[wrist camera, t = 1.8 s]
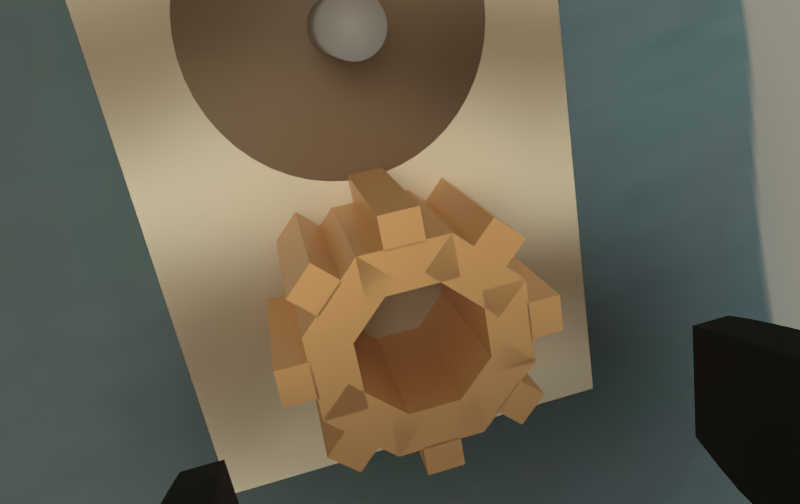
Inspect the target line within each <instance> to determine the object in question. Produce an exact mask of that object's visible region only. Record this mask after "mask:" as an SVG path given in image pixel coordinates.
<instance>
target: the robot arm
mask: <svg viewBox="0 0 800 504" xmlns="http://www.w3.org/2000/svg"><path fill="white" fill-rule="evenodd" d="M693 354H694V391H695V427H696V437H697V439H698V440H699V441H700V443H701V444H702V445H703V446H704V448H705V449H706V450H707V452H708V453H709V454H710V455H711V457H712V458H713V459H714V461H715V462H716V463H717V464H718V466H719V467H720V468H721V469H722V471H723V472H724V473H725V474H726V475H727V477H728V478H729V479H730V480H731V481H732V483H733V484H734V485H735V486H736V487H737V488H738V490H739V491H740V492H741V493H742V494H743V495H744V496H745V497H746V498H747V499H748V500H749V501H750V502H751V503H752V504H800V330H797V329H793V328H789V327H785V326H780V325H776V324H771V323H767V322H762V321H757V320H752V319H747V318H740V317H734V316H725V317H722V318H718V319H715V320H711V321H708V322H704V323H701V324H697V325H694V326H693ZM161 504H239V503H238V500H237V497H236V494H235V490H234V487H233V484H232V481H231V478H230V475H229V472H228V469H227V466H226V463H225V460H221V461H217V462H214V463H210V464H207V465H203V466H200V467H196V468H193V469H189V470H186V471H182V472H180V473H179V474H178V476H177V478H176V479H175V481H174V482H173V484H172V486H171V487H170V489H169V491H168V492H167V494H166V496H165V497H164V499H163V501H162V503H161Z"/></svg>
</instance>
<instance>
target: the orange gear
mask: <svg viewBox="0 0 800 504" xmlns="http://www.w3.org/2000/svg"><path fill="white" fill-rule="evenodd" d="M348 180H349V184H350V189H351V194H352V199H353V203H350V204H346V205H341V206H337V207H333V208H331V209H330V211H329V212H328V214H327V216H326V217H325V219H324V220H323V222H322V223H321V225H320V226H318V225H316V224H314V223H313V222H311V221H309V220H308V219H306V218H304V217H302V216H301V215H299V214H297V213H296V212H295V213H294V214H293V216H292V217H291V219H290V221H289V222H288V224H287V225H286V227H285V228H284V230H283V232H282V233H281V235H280V236H279V238H278V239H277V241H276V243H277V249H278V256H279V262H280V268H281V274H282V280H283V286H284V292H285V296H281V297H277V298H273V299H269V300H267V311H268V321H269V332H270V343H271V353H272V364H273V373H274V376H275V380H276V383H277V387H278V390H279V394H280V398H281V401H282V405H283V408H287V407H290V406H294V405H297V404H301V403H305V402H308V401H312V400H315V399H316V404H317V409H318V414H319V419H320V424H321V429H322V434H323V439H324V443H325V448H326V453H327V458H330V459H332V460H334V461H336V462H339V463H341V464H343V465H345V466H348V467H350V468H352V469H354V470H357V471H359V472H362V470H363V469H364V467H365V466H366V464H367V463H368V462H369V460H370V459H371V457H372V456H373V455H374V453H375V452H376V450H377V449H378V447H379V448H381V449H384V450H386V451H388V452H390V453H392V454H394V455H396V456H399V457H400V456H404V455H407V454H410V453H414V452H417V451H419V453H420V456H421V458H422V461H423V463H424V465H425V468H426V470H427V473H428V475H432V474H435V473H438V472H442V471H445V470H448V469H452V468H455V467H458V466H461V465H465V460H464V454H463V448H462V442H461V438H465V437H468V436H471V435H475V434H478V433H481V432H485V430H486V429H487V427H488V426H489V425H490V423H491V422H492V421H493V419H494V418H495V416H496V415H497V414H498V412H499V413H501V414H503V415H505V416H507V417H509V418H511V419H513V420H514V421H516V422H518V423H520V424H523V423H524V421H525V420H526V419H527V417H528V416H529V415H530V413H531V412H532V411H533V409H534V408H535V407H536V405H537V404H538V402H539V401H540V400H541V398H542V397H543V396H544V393H543V392H542V390H541V389H540V388H539V387H538V386H537V384H536V383H535V382H534V381H533V379H532V378H531V377H530V376H529V375H528V371H529V370H530V369H531V367H532V366H533V365H534V363H535V362H536V357H535V349H534V341H533V339H535V338H539V337H542V336H546V335H549V334H553V333H557V332H560V331H564V330H563V321H562V311H561V301H560V295H559V294H558V293H557V292H556V291H555V290H554V289H552V288H551V287H550V286H549V285H548V284H546V283H545V282H544V281H543V280H542V279H541V278H539V277H538V276H537V275H536V274H535V273H533V272H532V271H531V270H530V269H529V268H527V267H526V266H525V265H524V264H523V263H522V262H520V261H519V260H518V259H517V258H516V257H514V255H515V254H516V252H517V251H518V249H519V248H520V247H521V245H522V244H523V242H524V241H525V239H526V238H525V237H523V236H522V235H521V234H519V233H518V232H517V231H515V230H514V229H513V228H511V227H510V226H509V225H507V224H506V223H505V222H503V221H502V220H501V219H499V218H498V217H497V216H495V215H494V214H493V213H491V212H490V211H489V210H487V209H486V208H484V207H483V206H482V205H480V204H479V203H478V202H476V201H475V200H474V199H472V198H471V197H470V196H468V195H467V194H465V193H464V192H462V191H461V190H459V189H458V188H456V187H455V186H453V185H452V184H450V183H449V182H447V181H446V180H444V179H443V178H441V179H440V181H439V182H438V184H437V185H436V187H435V188H434V190H433V191H432V193H431V194H430V196H429V197H428V199H427V200H426V201H425V200H424V199H422V198H421V197H419V196H418V195H416V194H414V193H413V192H411V191H410V190H404V189H403V188H402V187H401V186H400V185H399V184H398V183H397V182H396V181H395V180H394V179H393V178H392V177H391V176H390V175H389V174H388V173H387V172H386V171H385V170H384V169H383V168H377V169H373V170H368V171H364V172H360V173H355V174H351V175H348ZM440 282H441V285H442V291H443V292H442V294H441V295H440V297H439V298H438V300H437V301H436V302H435V304H434V305H433V307H432V308H431V310H430V311H429V313H428V314H427V315H426V317H425V318H424V320H423V321H422V323H421V324H420V325H419V327H417V328H414V329H410V330H406V331H402V332H399V333H395V334H391V335H387V336H384V337H380V338H375V337H373V336H371V335H369V334H367V333H365V332H363V331H362V330H363V329H364V327H365V326H366V324H367V323H368V321H369V320H370V318H371V317H372V315H373V314H374V313H375V311H376V310H377V308H378V307H379V305H380V304H381V302H382V301H383V299H384V298H385V297H386V296H390V295H394V294H398V293H402V292H406V291H409V290H413V289H417V288H421V287H425V286H429V285H433V284H436V283H440Z"/></svg>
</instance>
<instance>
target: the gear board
mask: <svg viewBox="0 0 800 504" xmlns="http://www.w3.org/2000/svg"><path fill="white" fill-rule="evenodd" d="M66 3H67V6H68V9H69V12H70V15H71V18H72V21H73V24H74V27H75V30H76V33H77V36H78V39H79V42H80V45H81V48H82V51H83V54H84V57H85V60H86V63H87V66H88V69H89V72H90V75H91V78H92V81H93V84H94V87H95V90H96V93H97V96H98V99H99V102H100V105H101V108H102V111H103V114H104V117H105V120H106V123H107V126H108V129H109V132H110V135H111V138H112V141H113V144H114V147H115V150H116V153H117V156H118V159H119V162H120V165H121V169H122V172H123V175H124V178H125V181H126V184H127V187H128V190H129V193H130V196H131V199H132V202H133V205H134V208H135V211H136V214H137V217H138V220H139V223H140V226H141V229H142V232H143V235H144V238H145V241H146V244H147V247H148V250H149V253H150V256H151V259H152V262H153V265H154V268H155V271H156V274H157V277H158V280H159V283H160V286H161V289H162V292H163V295H164V298H165V301H166V304H167V307H168V310H169V313H170V316H171V319H172V322H173V325H174V328H175V331H176V334H177V337H178V340H179V343H180V346H181V349H182V352H183V355H184V358H185V361H186V364H187V367H188V370H189V373H190V376H191V379H192V382H193V385H194V388H195V391H196V394H197V397H198V400H199V403H200V406H201V409H202V412H203V415H204V418H205V421H206V424H207V427H208V430H209V433H210V436H211V439H212V442H213V445H214V448H215V451H216V454H217V457H218V460H219V461H221V460H225V463H226V466H227V469H228V472H229V475H230V478H231V481H232V484H233V487H234V490H235V493H238V492H241V491H245V490H248V489H252V488H255V487H258V486H262V485H265V484H269V483H272V482H276V481H279V480H282V479H286V478H289V477H293V476H296V475H299V474H303V473H306V472H310V471H313V470H316V469H320V468H323V467H327V466H330V465H333V464H337V463H339V462H336V461H334V460H332V459H330V458H327V453H326V448H325V443H324V439H323V434H322V429H321V424H320V419H319V414H318V409H317V404H316V399H315V400H312V401H308V402H305V403H301V404H297V405H294V406H290V407H287V408H283V405H282V401H281V398H280V394H279V390H278V387H277V383H276V380H275V376H274V373H273V364H272V353H271V343H270V332H269V321H268V311H267V300H269V299H273V298H277V297H281V296H285V292H284V286H283V280H282V274H281V268H280V262H279V256H278V249H277V243H276V241H277V239H278V238H279V236H280V235H281V233H282V232H283V230H284V228H285V227H286V225H287V224H288V222H289V221H290V219H291V217H292V216H293V214H294V213H295V212H296V213H297V214H299V215H301V216H302V217H304V218H306V219H308V220H309V221H311V222H313V223H314V224H316V225H318V226H320V225H321V223H322V222H323V220H324V219H325V217H326V216H327V214H328V212H329V211H330V209H331V208H333V207H337V206H341V205H346V204H350V203H353V199H352V194H351V189H350V184H349V180H348V175H351V174H355V173H360V172H364V171H368V170H373V169H377V168H383V169H384V170H385V171H386V172H387V173H388V174H389V175H390V176H391V177H392V178H393V179H394V180H395V181H396V182H397V183H398V184H399V185H400V186H401V187H402V188H403V189H404V190H410V191H411V192H413V193H414V194H416V195H418V196H419V197H421V198H422V199H424V200H425V201H426V200H427V199H428V197H429V196H430V194H431V193H432V191H433V190H434V188H435V187H436V185H437V184H438V182H439V181H440V179H441V178H443V179H444V180H446V181H447V182H449V183H450V184H452V185H453V186H455V187H456V188H458V189H459V190H461V191H462V192H464V193H465V194H467V195H468V196H470V197H471V198H472V199H474V200H475V201H476V202H478V203H479V204H480V205H482V206H483V207H484V208H486V209H487V210H489V211H490V212H491V213H493V214H494V215H495V216H497V217H498V218H499V219H501V220H502V221H503V222H505V223H506V224H507V225H509V226H510V227H511V228H513V229H514V230H515V231H517V232H518V233H519V234H521V235H522V236H523V237H525V238H526V239H525V241H524V242H523V244H522V245H521V247H520V248H519V249H518V251H517V252H516V254H515V255H514V257H516V258H517V259H518V260H519V261H520V262H522V263H523V264H524V265H525V266H526V267H527V268H529V269H530V270H531V271H532V272H533V273H535V274H536V275H537V276H538V277H539V278H541V279H542V280H543V281H544V282H545V283H546V284H548V285H549V286H550V287H551V288H552V289H554V290H555V291H556V292H557V293H558V294H559V295H560V301H561V311H562V321H563V330H564V331H560V332H557V333H553V334H549V335H546V336H542V337H539V338H535V339H533V341H534V349H535V357H536V362H535V363H534V365H533V366H532V367H531V369H530V370H529V371H528V375H529V376H530V377H531V378H532V379H533V381H534V382H535V383H536V384H537V386H538V387H539V388H540V389H541V390H542V392H543V393H544V396H543V397H542V398H541V400H540V401H539V402H538V404H541V403H545V402H548V401H552V400H555V399H558V398H562V397H565V396H569V395H572V394H576V393H579V392H582V391H586V390H589V389H593V383H592V372H591V361H590V350H589V339H588V328H587V317H586V306H585V295H584V284H583V273H582V261H581V250H580V239H579V228H578V217H577V206H576V195H575V184H574V173H573V162H572V151H571V140H570V129H569V118H568V107H567V96H566V85H565V74H564V63H563V52H562V41H561V30H560V19H559V8H558V0H66ZM442 292H443V291H442V285H441V282H440V283H436V284H433V285H429V286H425V287H421V288H417V289H413V290H409V291H406V292H402V293H398V294H394V295H390V296H386V297H385V298H384V299H383V301H382V302H381V304H380V305H379V307H378V308H377V310H376V311H375V313H374V314H373V315H372V317H371V318H370V320H369V321H368V323H367V324H366V326H365V327H364V329H363V330H362V331H363V332H365V333H367V334H369V335H371V336H373V337H375V338H380V337H384V336H387V335H391V334H395V333H399V332H402V331H406V330H410V329H414V328H417V327H419V325H420V324H421V323H422V321H423V320H424V318H425V317H426V315H427V314H428V313H429V311H430V310H431V308H432V307H433V305H434V304H435V302H436V301H437V300H438V298H439V297H440V295H441V294H442ZM538 404H537V405H538ZM501 415H503V414H501V413H499V412H498V414H497V415H496V416H495V417H497V416H501ZM381 450H384V449H381V448H379V447H378V449H377V450H376V452H378V451H381Z"/></svg>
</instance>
